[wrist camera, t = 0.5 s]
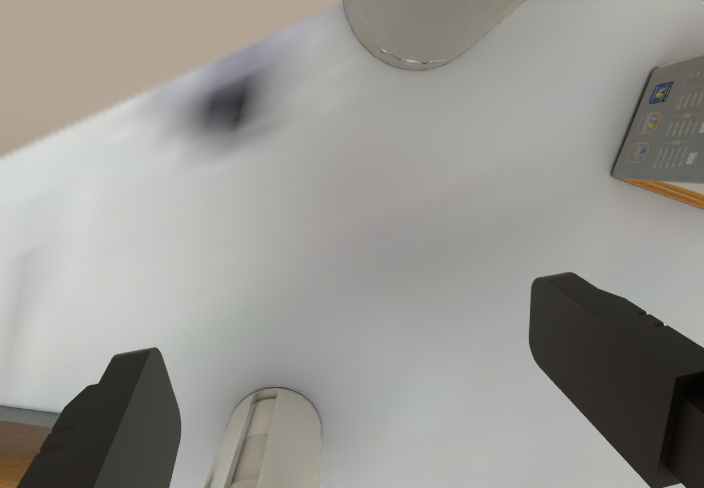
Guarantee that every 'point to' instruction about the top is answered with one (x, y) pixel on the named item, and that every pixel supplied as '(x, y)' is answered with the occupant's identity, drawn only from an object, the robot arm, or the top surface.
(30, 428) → the dock
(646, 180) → the hard drive box
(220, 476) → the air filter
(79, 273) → the top surface
